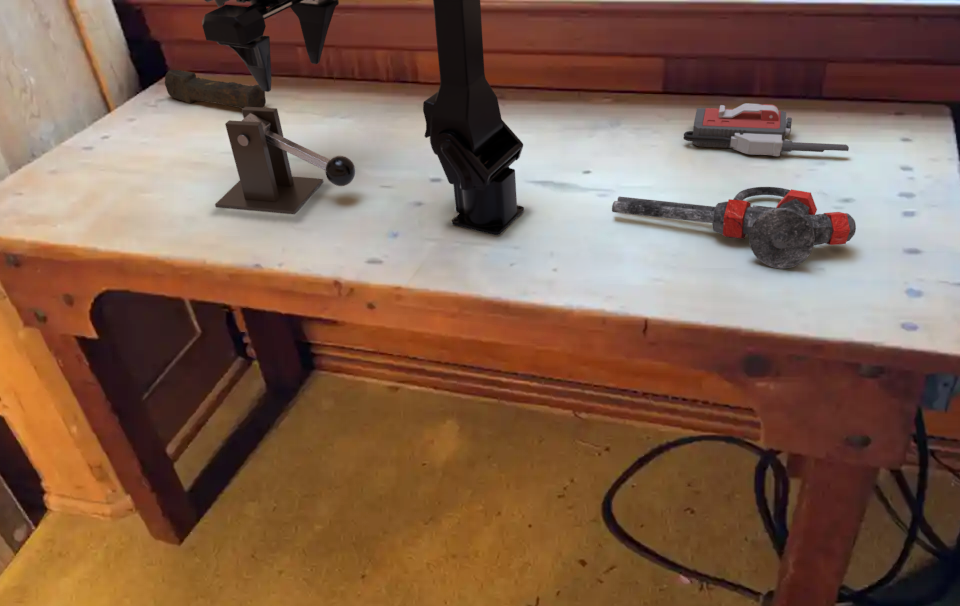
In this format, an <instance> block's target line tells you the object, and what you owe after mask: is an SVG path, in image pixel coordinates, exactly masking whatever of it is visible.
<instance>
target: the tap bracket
mask: <svg viewBox="0 0 960 606" xmlns="http://www.w3.org/2000/svg"><path fill="white" fill-rule="evenodd" d="M250 113H251V114H253V115H255V116H257V117H259V118H262V119H264V120H266V121H268V122H270V123H271V124H270V130H269V131H271V132H273V133H276V134H278V135H280V136H282V137H284V133H283V129H282V124H281V120H280V114H279V110H278V108H276V107H263V108H260V107H244V108H243V109H242V108H241V114H242V117H243V119H244V118H245V117H246V116H247V115H249V114H250ZM224 126H225V129H226V133H227V136H228V140H229V144H230V147H231V151H232V156H233V159H234V163H235V168H236V171H237V174H238V178H239V180H238V182H236V183H235V184H234V185H233V186H232V187H231V189H229V190H228V191H227V192H226V193H225V194H224V195H223V196H222V197H220V199H219V200H218V201H216V203H215V204H214V206H215V208H218V209H219V208H220V209H231V210H239V211H240V210H242V211H251V212H262V213H272V214H273V213H274V214H283V215H284V214H285V215H295V214H296V213H297V212H298V211H299V210H300V209H301V208H302V207H303V206H304V205H305V204H306V202H307V201H308V200H309V199H310V198H311V197H312V196H313V194H314V193H315V192H316V191H317V190H318V189H319V188H320V187H321V186H322V185H323V183H324V179H323V178H316V177H304V176H293V174H292V170H291V169H292V168H291V164H290V160H289V155H288V152H286V151H284V150H282V149H280V148H278V147H276V146H274V145H272V144H270V143H268V142H266V139H265V135H264V130H263V126H262V122H248V121H242V120H233V119H232V120H230V119H229V120H227V121H226V122H225V123H224Z"/></svg>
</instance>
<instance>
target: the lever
mask: <svg viewBox="0 0 960 606" xmlns="http://www.w3.org/2000/svg"><path fill="white" fill-rule="evenodd" d="M241 121H248V122H262V126H263V130H264V135H265V139H266V142H268V143H270V144H272V145H274V146H276V147H278V148H280V149H282V150H284V151H286V152H287V154H291V155H292V156H295V157H296V158H299V159H301V160H303V161H305V162H307V163H309V164H311V165H313V166H316V167H317V168H320V169H322V170H324V171H325V172H324V173H325V176H326V178H327V180H328V181H329V182H330V183H331V184H332V185H334V186H337V187H345V186H348V185H349V184H351V183H352V182H353V180H354V178H355V177H356V166H355V164H354V163H353V161H352V160H351V159H350V158H348V157H347V156H344V155H336V156H333V157H331V158H328V157H326V156H323V155H321V154H319V153H317V152H315V151H313V150H311V149H309V148H307V147H305V146H302V145H300V144H298V143H297V142H294V141H292V140H290V139H288V138H287V137H284V136H283V137H282V136H280V135H278V134H276V133H273V132H271V131H269V130H270V124H271V123H270V122H268V121H266V120H264V119H262V118H259V117H257V116H255V115H253V114H251V113H250V114H249V115H247V116H246V117H245V118H243V119H242V120H241Z"/></svg>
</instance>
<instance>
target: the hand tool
mask: <svg viewBox="0 0 960 606" xmlns="http://www.w3.org/2000/svg"><path fill="white" fill-rule="evenodd" d="M164 86H165V88H166V91H167V94H168V96H170V97H171V98H174V99H176V100H178V101H183V102H186V103H187V104H192V103H196V102H205V103H214V104H218V105H224V106H228V107H234V108H237V109H241V110H242V109H243V108H244V107H260V108H265V107H266V102H267V100H266V91H263V90H262V89H261V88H260V86H259V85H258V84H253V85H247V84H242V83H237V82H235V81H234V82H233V81H229V82H227V81H226V82H225V81H220V80H212V79H207V78H203V77H202V78H201V77H197V75H196V72H192V71H185V70H180V69H168V71H167V72H166V74H165V76H164Z"/></svg>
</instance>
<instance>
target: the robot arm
mask: <svg viewBox="0 0 960 606" xmlns="http://www.w3.org/2000/svg"><path fill="white" fill-rule="evenodd" d="M212 1H213V0H204V2H206V3H210V2H212ZM229 1H230V0H214V2H215V4H216V6H217V8H215V9H213V10H212V11H209V12H207V13H205V14H204V16H203V18H202V20H201V26H202V29H203V34H204V37H205V40H206V41H208V42H215V43H217V44H218V45H219V46H226V47H229V48H230V49H232V50H233V51H234V52H235V53H236V55H237V56H238V57H239V58H240V59H241V60H242V62H243V63H244V65H245V67H246V69H248V71H249V72H250V74H251V75H252V77H253V78H254V80H255V82H256V83H257V85H259V86H260V88H261V89H262V90H263V91H265V93H266V92H267V93H269V92H271V91H272V62H271V61H272V60H271V40H270V39H271V38H270V35H266V34H265V30H266V27H267V26H266V21H265V20H266V19H268V18H271V17H272V16H274V15H276V14H278V13H281V12H283V11H285V10H287V9H289V8H290V9H291V11H292V12H293V13H294V14H295V16H296V17H297V18H298V21H299V25H300V28H301V33H302V37H303V41H304V45H305V49H306V50H305V51H306V53H307V55H308V59H309V62H310V64H312V65H318V64H319V63H320V61H321V59H322V58H321V57H322V54H323V50H324V46H325V42H326V38H327V35H328V31H329V29H330V28H329V27H330V25H331V21H332V19H333V18H332V17H333V15H334V13H335V9H336V7H337V6H339V4H340V2H339V1H340V0H236V3H241V4H245V3H250V5H248V6H244V5H235V4H225V3H227V2H229ZM432 4H433V15H434V23H435V24H434V27H435V37H436V47H437V48H436V49H437V59H438V70H439V71H438V72H439V88H438V90H437V91H436V92H435V93H434V94H432V95H431V96H429V97H428V98H427V99H425V100H424V101H422V103H423V104H422V112H423V117H424V119H425V133H424V138H426V139H427V138H429V144H430V147H431V150H432V152H433V154H434V155H436V156H437V158H438V160H439V164H440V165H441V168H442V170H443V172H444V175H445V177H446V179H447V182H448V184H450V185H453V186H452V187H453V194H454V195H453V196H454V205H455V212H456V213H457V215H456V216H455V217H453V218H452V219H451V224H452V225H453V226H456V227H460V228H464V229H467V230H472V231H476V232H480V233H483V234H488V235H492V236H499V235H501V234H502V233H504V231H506V230H507V229H508V228H509V227H510V226H511V225H512V224H513V223H514V222H515V221H516V220H517V219H518V218H520V216H521V215H522V214H523V213H524V212H525V207H524V206H522V205H519V204H518V200H517V199H518V198H517V180H516V169H515V168H511V167H510V166H511V165H512V164H514V162H515V161H518V160H519V159H520V157H521V154H522V151H523V148H524V143H523V142H522V141H521V139H520V138H519V137H518V136H517V135H516V134H515V133H514V132H513V130H512V129H511V128H510V127H509V126H508V125H507V123H506V122H505V121H504V120H503V119H502V114H501V109H500V105H499V99H498V96H497V94H496V92H494V90H493V88H492V86H491V85H490V83H489V82H488V80H487V79H486V74H485V73H486V72H485V59H484V41H483V25H482V24H483V23H482V8H481V7H482V5H481V0H432ZM264 34H265V35H264Z"/></svg>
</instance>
